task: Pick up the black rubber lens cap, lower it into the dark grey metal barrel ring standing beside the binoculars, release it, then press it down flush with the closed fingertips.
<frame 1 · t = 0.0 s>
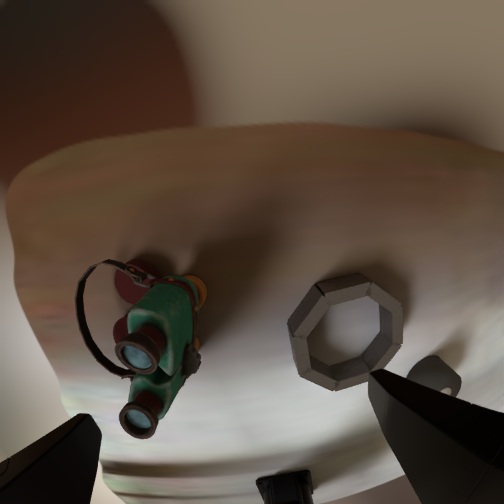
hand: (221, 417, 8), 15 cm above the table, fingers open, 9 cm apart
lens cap: (423, 375, 25), on the table
barrel ring: (342, 328, 23), on the table
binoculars: (149, 309, 23), on the table
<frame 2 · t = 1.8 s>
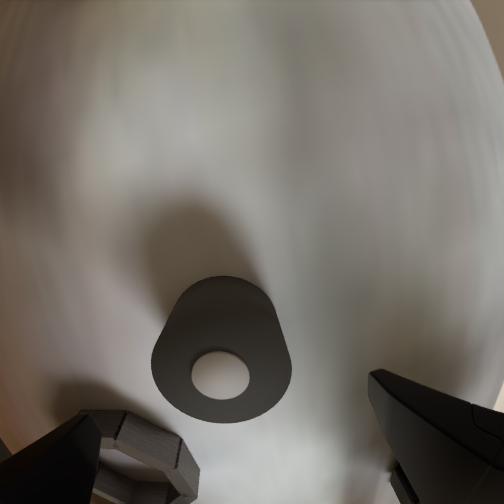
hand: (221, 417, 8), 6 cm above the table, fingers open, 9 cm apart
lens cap: (224, 326, 14), on the table
barrel ring: (131, 455, 15), on the table
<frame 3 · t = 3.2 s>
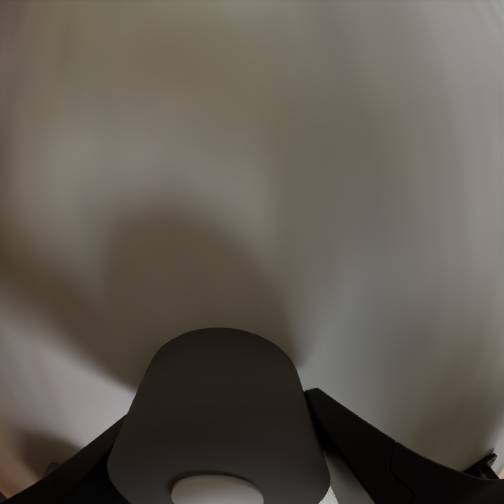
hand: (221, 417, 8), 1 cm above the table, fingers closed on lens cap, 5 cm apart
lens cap: (222, 395, 9), on the table, touching gripper
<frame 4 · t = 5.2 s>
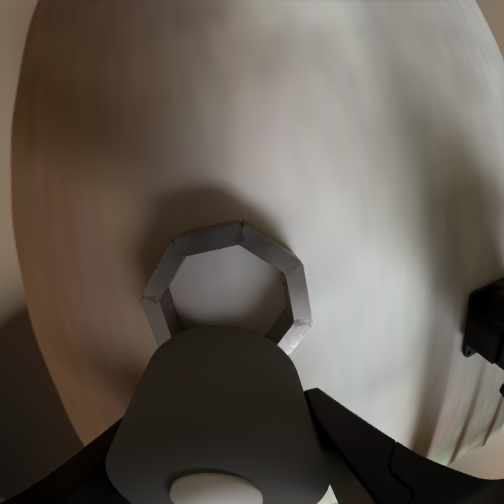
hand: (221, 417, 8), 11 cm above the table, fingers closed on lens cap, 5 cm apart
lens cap: (221, 393, 9), point 10 cm above the table, touching gripper
barrel ring: (228, 297, 18), on the table
when the fingers open (3 cm above the table, at t = 7.4 s): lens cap drops 2 cm, resting in barrel ring.
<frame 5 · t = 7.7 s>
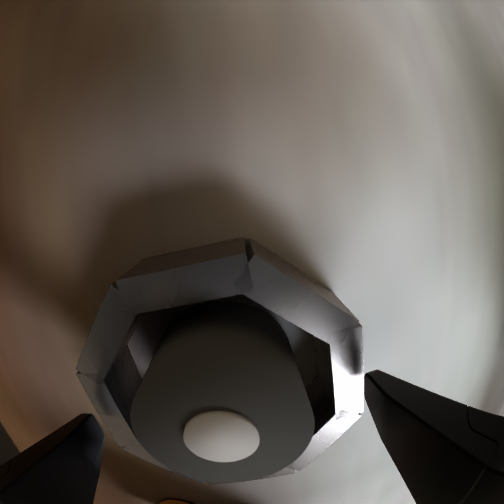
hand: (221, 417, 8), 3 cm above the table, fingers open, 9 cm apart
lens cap: (225, 360, 11), resting in barrel ring
barrel ring: (223, 364, 11), on the table
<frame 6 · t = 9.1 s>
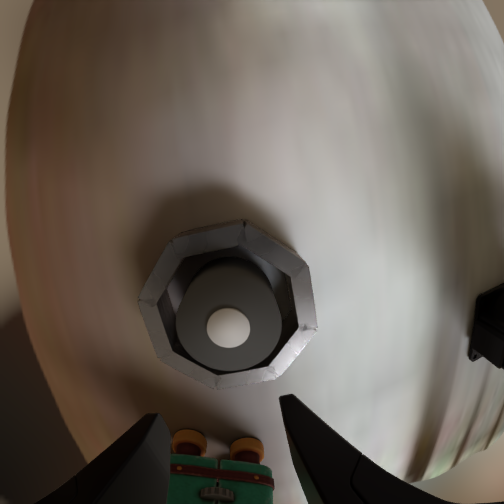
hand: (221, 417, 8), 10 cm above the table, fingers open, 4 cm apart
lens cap: (230, 298, 17), resting in barrel ring
barrel ring: (229, 299, 17), on the table
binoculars: (214, 461, 21), on the table
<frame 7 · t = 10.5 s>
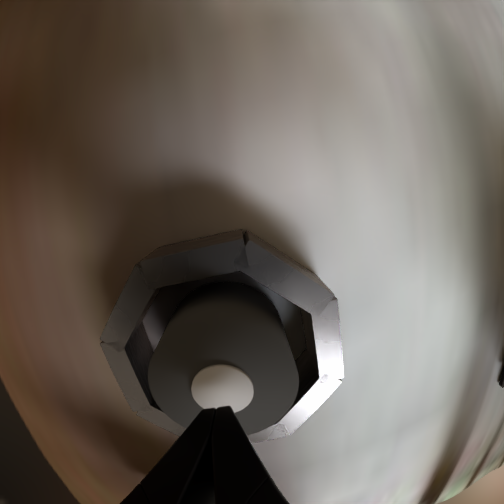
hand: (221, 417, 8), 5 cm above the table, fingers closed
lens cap: (226, 334, 13), resting in barrel ring
barrel ring: (224, 337, 13), on the table
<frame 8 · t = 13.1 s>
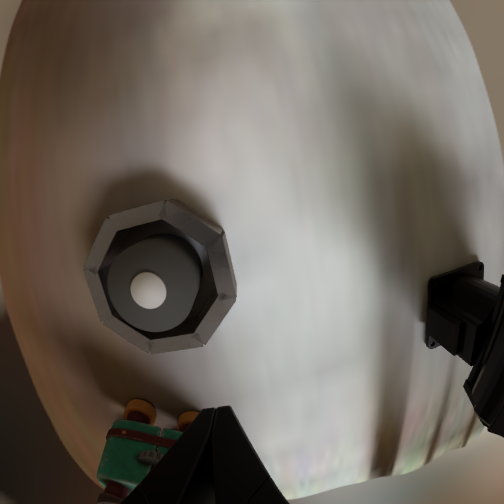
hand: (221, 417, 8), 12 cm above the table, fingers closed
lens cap: (165, 270, 19), resting in barrel ring
barrel ring: (164, 272, 19), on the table
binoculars: (168, 435, 22), on the table
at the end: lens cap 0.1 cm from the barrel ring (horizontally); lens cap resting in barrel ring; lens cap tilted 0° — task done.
